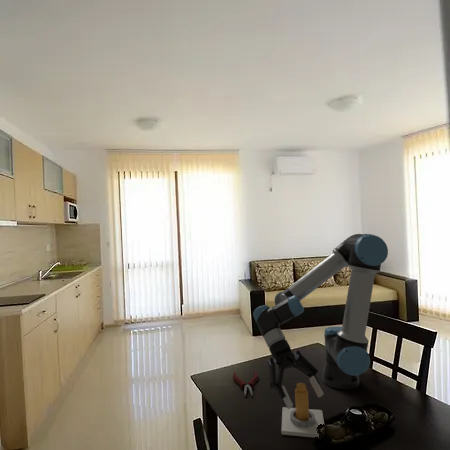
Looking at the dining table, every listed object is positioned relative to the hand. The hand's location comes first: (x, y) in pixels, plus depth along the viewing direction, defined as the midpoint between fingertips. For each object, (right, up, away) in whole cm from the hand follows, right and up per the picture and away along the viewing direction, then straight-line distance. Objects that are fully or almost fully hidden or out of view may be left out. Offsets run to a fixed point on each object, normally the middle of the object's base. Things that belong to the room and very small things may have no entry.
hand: (306, 401), depth 107 cm
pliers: (-20, -11, +31) cm, 38 cm away
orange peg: (-1, -7, +2) cm, 8 cm away
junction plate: (-1, -9, +2) cm, 9 cm away
